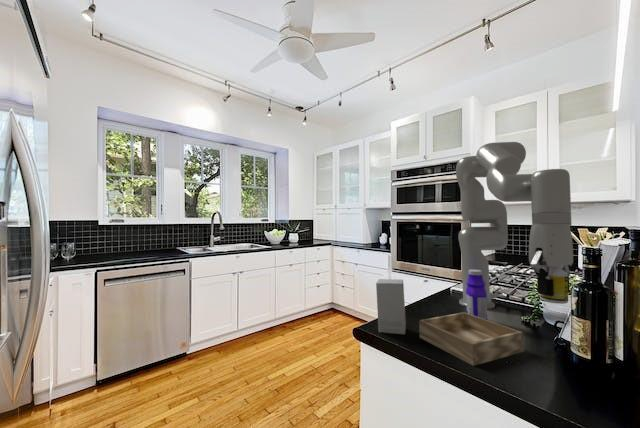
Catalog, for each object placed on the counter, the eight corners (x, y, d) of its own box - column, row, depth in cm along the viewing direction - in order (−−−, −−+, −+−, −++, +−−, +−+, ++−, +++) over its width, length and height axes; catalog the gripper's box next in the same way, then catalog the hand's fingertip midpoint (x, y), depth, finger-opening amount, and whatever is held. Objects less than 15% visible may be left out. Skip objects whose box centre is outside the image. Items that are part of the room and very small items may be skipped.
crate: (464, 328, 89) (464, 312, 89) (523, 351, 72) (522, 332, 72) (419, 337, 82) (419, 320, 82) (473, 365, 66) (472, 344, 66)
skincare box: (406, 327, 90) (404, 279, 90) (405, 335, 84) (403, 283, 84) (379, 325, 93) (378, 278, 93) (377, 332, 86) (375, 282, 87)
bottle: (490, 326, 90) (488, 272, 90) (471, 325, 91) (469, 272, 91) (482, 319, 97) (480, 268, 97) (464, 318, 98) (462, 268, 98)
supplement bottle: (571, 305, 65) (569, 263, 65) (541, 302, 68) (540, 261, 68) (565, 299, 69) (564, 260, 70) (538, 296, 72) (537, 258, 72)
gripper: (554, 219, 76) (557, 286, 75) (512, 220, 69) (514, 293, 69) (589, 219, 69) (592, 293, 68) (546, 220, 62) (549, 302, 62)
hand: (553, 292), depth 69 cm, fingers closed on supplement bottle, 5 cm apart
